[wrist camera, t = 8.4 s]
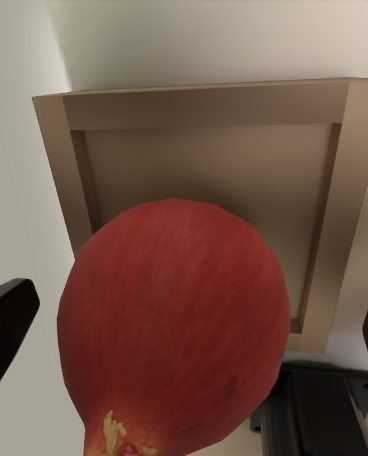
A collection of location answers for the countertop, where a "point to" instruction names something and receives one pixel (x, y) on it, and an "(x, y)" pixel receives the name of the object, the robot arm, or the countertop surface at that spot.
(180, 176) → the brown wooden tray
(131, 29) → the countertop surface
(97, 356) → the onion
